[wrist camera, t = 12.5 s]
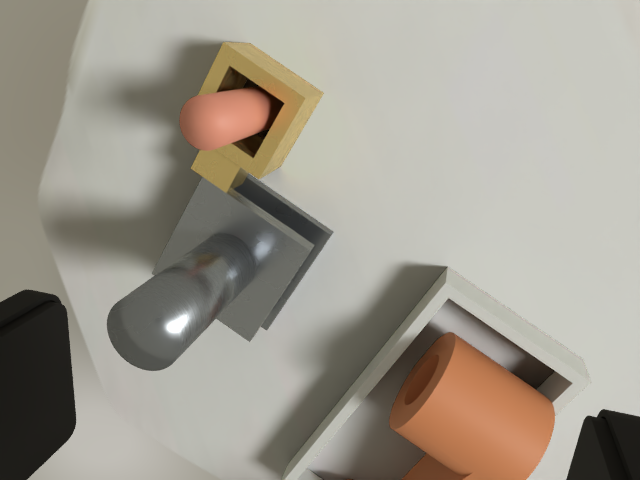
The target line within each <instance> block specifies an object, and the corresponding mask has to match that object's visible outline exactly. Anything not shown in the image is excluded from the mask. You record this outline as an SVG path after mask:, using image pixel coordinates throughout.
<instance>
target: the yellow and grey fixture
mask: <svg viewBox="0 0 640 480" xmlns="http://www.w3.org/2000/svg"><path fill="white" fill-rule="evenodd" d="M247 79H250V80H251V81H253V82H254V83H256V84H257V85H259V86H260V87H262V88H263V89H265V90H266V91H268V92H269V93H271V94H272V95H274V96H275V97H276V98H278V99H279V100H281V101H282V102H284V105H283V107H282V109H281V110H280V112H279V114H278V116H277V118H276V119H275V121H274V123H273V125H272V126H271V128H270V130H269V132H268V134H267V135H266V137H265V139H263V138H261V137H260V136H258V135H257V134H254V135H251V136H249V137H246V138H243V139H241V140H238V141H236V142H233V143H230V144H228V145H225V146H222V147H220V148H217V149H214V150H210V151H204V150H200V151H199V153H198V155H197V157H196V159H195V161H194V163H193V165H192V167H191V169H192V170H194V171H195V172H196V173H198V174H199V175H201V176H202V178H201V180H200V182H199V184H198V186H197V188H196V190H195V192H194V194H193V196H192V197H191V199H190V201H189V203H188V205H187V207H186V209H185V211H184V213H183V215H182V217H181V218H180V220H179V222H178V224H177V226H176V228H175V230H174V232H173V234H172V236H171V238H170V239H169V241H168V243H167V245H166V247H165V249H164V251H163V253H162V255H161V257H160V259H159V260H158V262H157V264H156V266H155V268H154V270H153V272H152V274H153V275H155V276H154V277H152V278H151V279H150V280H148V281H147V282H145V283H144V284H142V285H141V286H140V287H138V288H137V289H135V290H134V291H133V292H131V293H130V294H128V295H127V296H125V297H124V298H123V299H121V300H120V301H118V302H117V303H116V304H115V305H114V306H113V307H112V309H111V310H110V313H109V315H108V319H107V330H108V335H109V338H110V340H111V343H112V345H113V346H114V348H115V349H116V351H117V352H118V353H119V354H120V356H121V357H123V358H124V359H125V360H126V361H127V362H129V363H130V364H132V365H134V366H136V367H138V368H140V369H144V370H149V371H157V370H162V369H165V368H167V367H169V366H170V365H172V364H173V363H174V362H175V361H176V359H177V358H178V357H179V356H180V355H181V354H182V353H183V352H184V351H185V350H186V349H187V348H188V347H189V346H190V345H191V344H192V343H193V342H194V341H195V340H196V339H197V338H198V337H199V336H200V335H201V333H202V332H203V331H204V330H205V329H206V328H207V327H208V326H209V325H210V324H211V323H212V322H213V321H214V320H215V319H218V320H219V321H221V322H222V323H223V324H225V325H226V326H228V327H229V328H231V329H232V330H233V331H235V332H236V333H238V334H239V335H241V336H242V337H243V338H245V339H246V340H248V341H249V342H250V341H251V340H252V338H253V337H254V336H255V334H256V333H257V331H258V330H259V328H260V327H262V328H264V329H265V330H267V329H268V328H269V327H270V325H271V324H272V322H273V321H274V319H275V318H276V316H277V315H278V313H279V312H280V310H281V309H282V308H283V306H284V305H285V303H286V302H287V300H288V299H289V297H290V296H291V294H292V293H293V291H294V290H295V288H296V287H297V285H298V284H299V282H300V281H301V279H302V278H303V276H304V275H305V273H306V272H307V270H308V269H309V267H310V266H311V265H312V263H313V262H314V260H315V259H316V257H317V256H318V254H319V253H320V251H321V250H322V248H323V247H324V245H325V244H326V242H327V241H328V239H329V238H330V236H331V235H332V233H333V231H331V230H330V229H329V228H327V227H326V226H324V225H323V224H321V223H320V222H318V221H317V220H315V219H314V218H313V217H311V216H310V215H308V214H307V213H305V212H304V211H302V210H301V209H299V208H298V207H296V206H295V205H294V204H292V203H291V202H289V201H288V200H286V199H285V198H283V197H282V196H280V195H279V194H278V193H276V192H275V191H273V190H272V189H270V188H269V187H267V186H266V185H264V184H263V183H262V182H260V181H259V180H257V179H256V178H258V179H261V178H262V177H264V176H266V175H267V174H269V173H271V172H272V171H274V170H276V169H277V168H279V167H281V165H282V163H283V162H284V160H285V158H286V157H287V155H288V153H289V151H290V150H291V148H292V146H293V145H294V143H295V141H296V140H297V138H298V136H299V134H300V133H301V131H302V129H303V128H304V126H305V124H306V123H307V121H308V119H309V117H310V116H311V114H312V112H313V111H314V109H315V107H316V106H317V104H318V102H319V100H320V99H321V97H322V95H323V94H324V93H323V92H321V91H320V90H319V89H317V88H316V87H314V86H313V85H311V84H310V83H308V82H307V81H305V80H304V79H302V78H301V77H299V76H298V75H296V74H295V73H293V72H292V71H290V70H289V69H288V68H286V67H285V66H283V65H282V64H280V63H279V62H277V61H276V60H274V59H273V58H271V57H270V56H268V55H267V54H265V53H264V52H262V51H261V50H259V49H258V48H256V47H255V46H254V45H252V44H251V43H232V42H223V44H222V46H221V48H220V50H219V52H218V54H217V56H216V58H215V60H214V63H213V65H212V67H211V69H210V71H209V73H208V75H207V77H206V79H205V81H204V83H203V85H202V87H201V89H200V91H199V94H198V95H204V94H211V93H217V92H223V91H229V90H236V89H242V88H243V87H244V85H245V83H246V81H247ZM248 173H250V174H252V175H253V176H255V177H256V178H254V177H253V176H251V175H250V174H248Z"/></svg>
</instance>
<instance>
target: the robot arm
mask: <svg viewBox="0 0 640 480" xmlns="http://www.w3.org/2000/svg"><path fill="white" fill-rule="evenodd" d="M75 425H76V412H75V400H74V388H73V376H72V365H71V353H70V341H69V330H68V318H67V311H66V308H65V306H64V305H62V304H61V301H60V300H59V298H58V297H57V296H56V295H53V294H48V293H43V292H38V291H33V290H23V291H21V292H19V293H17V294H15V295H13V296H12V297H9V298H7V299H6V300H4V301H2V302H0V480H27V479H28V478H29V477H30V476H31V475H32V474H33V473H34V472H35V471H36V470H37V469H38V468H39V467H40V466H42V465H43V464H44V462H46V461H47V460H48V459H49V458H50V457H51V456H52V455H53V454H54V453H55V452H56V451H57V450H58V449H59V448H60V447H61V446H62V445H63V444H64V443H66V442H67V440H68V439H69V438H70V437H71V435H72V434H73V431H74V429H75ZM566 480H640V417H639V416H634V415H629V414H624V413H619V412H615V411H610V410H605V409H603V410H601V411H600V412H599V414H598V416H597V417H593V416H586V418H585V419H584V422H583V425H582V428H581V432H580V435H579V438H578V442H577V445H576V449H575V452H574V456H573V459H572V462H571V466H570V469H569V473H568V476H567V479H566Z"/></svg>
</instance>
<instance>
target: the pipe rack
mask: <svg viewBox="0 0 640 480" xmlns="http://www.w3.org/2000/svg"><path fill="white" fill-rule="evenodd" d="M448 298H449V299H451V300H452V301H454V302H455V303H457V304H458V305H460V306H461V307H463V308H464V309H465V310H467V311H468V312H470V313H471V314H473V315H474V316H476V317H477V318H479V319H480V320H481V321H483V322H484V323H486V324H487V325H489V326H490V327H492V328H493V329H495V330H496V331H497V332H499V333H500V334H502V335H503V336H505V337H506V338H508V339H509V340H511V341H512V342H514V343H515V344H516V345H518V346H519V347H521V348H522V349H524V350H525V351H527V352H528V353H530V354H531V355H532V356H534V357H535V358H537V359H538V360H540V361H541V362H543V363H544V364H546V365H547V366H549V367H550V368H551V369H553V370H554V371H555V372H554V373H553V374H552V375H551V376H550V377H549V378H548V379H547V380H546V381H545V382H543V383H542V384H541V385H540V386H539V387H538V388H537V389H536V390H537V391H539V392H540V393H541V394H543V395H544V396H546V397H547V398H549V399H550V400H551V402H552V404H553V406H554V411H555V416H556V415H557V414H558V413H559V412H560V411H561V410H562V409H563V408H565V407H566V406H567V405H568V404H569V403H570V402H571V401H572V400H573V399H574V398H575V397H576V396H577V395H578V394H579V393H581V392H582V391H583V390H584V389H585V388H586V387H587V386H588V385H589V384H590V383H591V380H590V377H589V374H588V371H587V369H586V366H585V363H584V360H583V359H582V358H581V357H579V356H578V355H576V354H575V353H573V352H572V351H570V350H569V349H568V348H566V347H565V346H563V345H562V344H560V343H559V342H557V341H556V340H554V339H553V338H551V337H550V336H548V335H547V334H546V333H544V332H543V331H541V330H540V329H538V328H537V327H535V326H534V325H532V324H531V323H529V322H528V321H527V320H525V319H524V318H522V317H521V316H519V315H518V314H516V313H515V312H513V311H512V310H510V309H509V308H508V307H506V306H505V305H503V304H502V303H500V302H499V301H497V300H496V299H494V298H493V297H491V296H490V295H489V294H487V293H486V292H484V291H483V290H481V289H480V288H478V287H477V286H475V285H474V284H472V283H471V282H470V281H468V280H467V279H465V278H464V277H462V276H461V275H459V274H458V273H456V272H455V271H453V270H452V269H451V268H449V267H447V268H446V269H445V270H444V272H443V273H442V274H441V275H440V277H439V278H438V279H437V280H436V282H435V283H434V284H433V285H432V287H431V288H430V289H429V290H428V292H427V293H426V294H425V295H424V296H423V298H422V299H421V300H420V301H419V303H418V304H417V305H416V306H415V308H414V309H413V310H412V311H411V313H410V314H409V315H408V316H407V318H406V319H405V320H404V321H403V322H402V324H401V325H400V326H399V327H398V329H397V330H396V331H395V332H394V334H393V335H392V336H391V337H390V339H389V340H388V341H387V342H386V344H385V345H384V346H383V347H382V348H381V350H380V351H379V352H378V353H377V355H376V356H375V357H374V358H373V360H372V361H371V362H370V363H369V365H368V366H367V367H366V368H365V369H364V371H363V372H362V373H361V374H360V376H359V377H358V378H357V379H356V381H355V382H354V383H353V384H352V386H351V387H350V388H349V389H348V391H347V392H346V393H345V394H344V395H343V397H342V398H341V399H340V400H339V402H338V403H337V404H336V405H335V407H334V408H333V409H332V410H331V412H330V413H329V414H328V415H327V417H326V418H325V419H324V420H323V421H322V423H321V424H320V425H319V426H318V428H317V429H316V430H315V431H314V433H313V434H312V435H311V436H310V438H309V439H308V440H307V441H306V443H305V444H304V445H303V446H302V447H301V449H300V450H299V451H298V452H297V454H296V455H295V456H294V457H293V459H292V460H291V461H290V462H289V464H288V466H287V468H286V470H285V472H284V474H283V477H282V479H281V480H323V479H321V478H320V477H318V476H317V475H315V474H314V473H313V472H311V471H310V470H308V469H307V467H308V466H309V465H310V463H311V462H312V461H313V460H314V459H315V457H316V456H317V455H318V454H319V453H320V451H321V450H322V449H323V448H324V447H325V445H326V444H327V443H328V442H329V441H330V439H331V438H332V437H333V436H334V435H335V433H336V432H337V431H338V430H339V429H340V427H341V426H342V425H343V424H344V423H345V421H346V420H347V419H348V418H349V417H350V416H351V414H352V413H353V412H354V411H355V410H356V408H357V407H358V406H359V405H360V404H361V402H362V401H363V400H364V399H365V398H366V396H367V395H368V394H369V393H370V392H371V390H372V389H373V388H374V387H375V386H376V384H377V383H378V382H379V381H380V380H381V378H382V377H383V376H384V375H385V374H386V372H387V371H388V370H389V369H390V368H391V366H392V365H393V364H394V363H395V362H396V360H397V359H398V358H399V357H400V356H401V354H402V353H403V352H404V351H405V350H406V348H407V347H408V346H409V345H410V344H411V342H412V341H413V340H414V339H415V338H416V336H417V335H418V334H419V333H420V332H421V330H422V329H423V328H424V327H425V326H426V324H427V323H428V322H429V321H430V320H431V318H432V317H433V316H434V315H435V314H436V312H437V311H438V310H439V309H440V308H441V306H442V305H443V304H444V303H445V302H446V300H447V299H448Z"/></svg>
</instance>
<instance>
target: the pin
mask: <svg viewBox="0 0 640 480" xmlns="http://www.w3.org/2000/svg"><path fill="white" fill-rule="evenodd" d="M283 105H284V102H282V101H281V100H279V99H278V98H276V97H275V96H274V95H272V94H271V93H269V92H268V91H266V90H265V89H263V88H262V87H260V86H254V87H248V88H242V89H236V90H229V91H223V92H217V93H211V94H204V95H198V96H194V97H192V98H191V99H189V100H188V101H187V102H186V103H185V104H184V106H183V107H182V110H181V113H180V120H179V121H180V128H181V131H182V133H183V135H184V137H185V139H186V140H187V141H188V142H189V143H190V144H191V145H192V146H194V147H195V148H197V149H200V150H204V151H210V150H214V149H217V148H220V147H222V146H225V145H228V144H230V143H233V142H236V141H238V140H241V139H243V138H246V137H249V136H251V135H254V134H257V133H259V132H262V131H265V130H267V129H270V128H271V126H272V125H273V123H274V121H275V119H276V118H277V116H278V114H279V112H280V110H281V109H282V107H283Z"/></svg>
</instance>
